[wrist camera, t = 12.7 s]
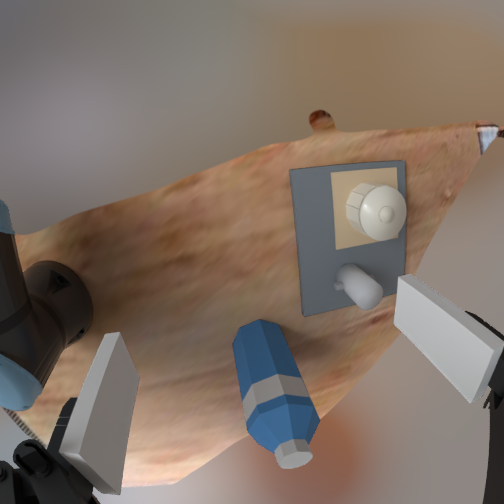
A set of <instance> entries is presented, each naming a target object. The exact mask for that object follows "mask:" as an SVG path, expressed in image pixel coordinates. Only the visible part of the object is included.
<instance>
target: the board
mask: <svg viewBox="0 0 504 504" xmlns="http://www.w3.org/2000/svg"><path fill="white" fill-rule="evenodd" d="M289 175H290V184H291V192H292V202H293V211H294V221H295V231H296V242H297V253H298V265H299V277H300V290H301V304H302V314H303V316H304V317H306V316H311V315H315V314H319V313H323V312H327V311H331V310H335V309H339V308H343V307H347V306H351V305H355V304H357V305H358V306H359V307H360V308H361V309H363V310H370V309H372V308H374V307H376V306H377V305H378V304H379V302H380V301H381V299H382V297H384V296H388V295H391V294H394V293H397V287H398V277H399V276H403V275H404V266H405V247H406V219H405V222H404V225H403V227H402V228H401V230H400V231H399V232H398V234H397V235H395V236H394V237H393V238H391V239H389V240H386V241H378V240H375V239H373V238H371V237H369V236H367V235H365V234H363V233H361V232H359V231H358V230H356V229H354V228H353V227H352V225H351V224H350V222H349V220H348V219H347V214H346V202H347V200H348V198H349V195H350V193H351V192H352V190H353V189H355V188H356V187H357V186H358V185H359V184H361V183H366V182H375V183H380V184H384V185H388V186H389V187H392V188H395V189H396V190H398V191H399V192H400V193H401V195H402V196H403V198H404V200H405V204H406V179H405V161H402V160H397V161H378V162H363V163H350V164H339V165H328V166H318V167H308V168H299V169H291V170H289Z"/></svg>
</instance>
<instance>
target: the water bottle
mask: <svg viewBox="0 0 504 504" xmlns="http://www.w3.org/2000/svg"><path fill="white" fill-rule="evenodd" d="M233 350H234V356H235V362H236V368H237V374H238V380H239V386H240V392H241V397H242V403H243V409H244V414H245V419H246V425H247V430H248V433H249V434H250V435H251V436H252V437H253V438H254V440H255V441H256V442H257V443H258V444H259V445H261V446H263V447H264V448H266V449H267V450H269V451H271V452H272V453H274V454H275V456H276V459H277V463H278V465H279V466H280V467H281V468H296V467H299V466H302V465H304V464H307V463H308V462H309V461H310V459H312V457H313V456H312V453H311V450H310V447H309V443H310V441H311V439H312V437H313V435H314V433H315V431H316V428H317V426H318V424H319V422H320V419H319V416H318V414H317V412H316V409H315V407H314V405H313V402H312V400H311V398H310V395H309V393H308V391H307V388H306V386H305V384H304V381H303V379H302V377H301V375H300V372H299V370H298V368H297V365H296V363H295V361H294V358H293V356H292V354H291V351H290V349H289V347H288V344H287V342H286V340H285V337H284V335H283V333H282V331H281V329H280V327H279V325H278V324H275V323H271V322H268V321H264V320H260V319H259V320H257V321H254V322H252V323H250V324H247V325H245V326H243V327H240V328H239V331H238V333H237V335H236V337H235V340H234V342H233Z"/></svg>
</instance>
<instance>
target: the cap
mask: <svg viewBox="0 0 504 504" xmlns="http://www.w3.org/2000/svg"><path fill="white" fill-rule="evenodd" d="M346 214H347V219H348V220H349V222H350V224H351V225H352V227H353V228H354V229H356V230H358V231H359V232H361V233H363V234H365V235H367V236H369V237H371V238H373V239H375V240H378V241H386V240H389V239H391V238H393V237H394V236H395V235H397V234H398V232H399V231H400V230H401V228H402V227H403V225H404V222H405V219H406V204H405V200H404V198H403V196H402V195H401V193H400V192H399V191H398V190H396V189H395V188H392V187H389V186H388V185H384V184H380V183H375V182H366V183H361V184H359V185H358V186H357V187H356V188H355V189H353V190H352V192H351V193H350V195H349V198H348V200H347V202H346Z"/></svg>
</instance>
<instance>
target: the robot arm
mask: <svg viewBox="0 0 504 504" xmlns="http://www.w3.org/2000/svg"><path fill="white" fill-rule="evenodd" d="M14 235H15V231H14V230H13V228H12V223H11V219H10V214H9V209H8V206H7V204H6V203H5V202H4V201H2V200H0V406H2V407H4V408H7V409H10V410H14V411H24V410H27V409H29V408H30V407H31V406H32V405H33V404H34V402H35V400H36V399H37V397H38V396H39V395H40V394H41V393H42V390H43V388H44V386H45V384H46V382H47V380H48V378H49V376H50V374H51V372H52V370H53V368H54V366H55V364H56V362H57V361H58V359H59V357H60V355H61V353H62V351H63V350H64V349H66V348H67V347H69V346H70V345H72V344H74V343H75V342H77V341H78V340H80V339H81V338H82V337H83V336H84V334H85V333H86V331H87V329H88V328H89V326H90V324H91V321H92V315H93V308H92V302H91V299H90V296H89V293H88V291H87V289H86V287H85V286H84V284H83V283H82V281H81V280H80V279H79V278H78V276H77V275H76V274H75V273H73V272H72V271H71V270H70V269H68V268H67V267H65V266H64V265H62V264H59V263H57V262H53V261H40V262H37V263H35V264H33V265H32V266H31V267H29V268H28V269H27V270H26V271H25V272H24V273H23V272H22V268H21V264H20V259H19V255H18V250H17V246H16V241H15V236H14ZM394 325H395V326H396V327H397V328H398V329H399V330H400V331H401V332H402V333H403V334H404V335H405V336H406V337H408V339H409V340H410V341H411V342H412V343H413V344H414V345H415V346H416V347H417V348H418V349H419V350H420V351H421V352H422V353H423V354H424V355H425V356H426V357H427V358H428V359H429V360H430V361H431V362H432V363H433V364H434V365H435V366H436V367H437V368H438V369H439V371H441V372H442V374H443V375H444V376H445V377H446V378H447V379H448V380H449V381H450V382H451V383H452V384H453V385H454V386H455V387H456V388H457V390H458V391H459V392H460V393H461V394H462V395H463V396H464V397H465V398H466V399H467V400H468V402H469V403H470V404H471V403H473V402H474V401H476V400H477V399H479V398H480V397H482V396H483V394H484V392H485V390H486V388H487V386H489V387H490V388H491V391H490V394H489V396H488V398H487V399H486V401H485V403H484V406H483V408H486V406H487V404H488V402H490V406H489V409H490V441H489V458H488V469H487V479H486V486H485V493H484V499H483V504H504V336H503V335H502V334H501V333H500V332H498V331H497V330H496V329H494V328H493V327H492V326H490V325H489V324H488V323H487V322H484V321H483V320H482V319H481V318H480V317H478V316H477V315H475V314H473V313H470V312H467V311H463V310H462V309H460V308H459V307H458V306H456V305H455V304H453V303H452V302H451V301H449V300H448V299H446V298H445V297H444V296H442V295H441V294H439V293H438V292H437V291H435V290H434V289H432V288H431V287H429V286H428V285H426V284H425V283H423V282H422V281H421V280H419V279H417V278H416V277H415V276H413V275H412V274H407V275H403V276H399V277H398V287H397V298H396V308H395V317H394ZM139 380H140V377H139V375H138V372H137V370H136V368H135V366H134V364H133V361H132V359H131V357H130V355H129V352H128V350H127V348H126V345H125V343H124V340H123V338H122V335H121V333H120V332H116V333H107V334H105V335H104V338H103V340H102V342H101V344H100V346H99V349H98V351H97V353H96V355H95V358H94V360H93V362H92V365H91V367H90V369H89V372H88V374H87V376H86V379H85V381H84V384H83V386H82V389H81V391H80V394H79V396H78V398H70V399H69V400H68V401H67V403H66V404H65V405H64V406H63V408H62V410H61V413H60V415H59V417H60V418H58V421H57V423H56V426H55V428H54V431H53V434H52V436H51V439H50V442H49V445H48V448H47V450H46V449H45V448H44V447H43V445H42V444H41V443H40V442H38V441H37V440H34V439H28V440H25V441H23V442H21V443H20V444H19V445H18V446H17V448H16V449H15V451H14V454H13V461H14V463H16V464H17V466H18V467H19V469H14V468H13V467H12V466H11V465H10V464H9V463H7V462H5V461H0V504H100V502H99V501H98V500H97V498H96V497H95V496H94V495H93V494H92V492H93V486H94V487H95V488H96V489H97V490H98V491H100V492H101V493H104V494H114V495H120V493H121V485H122V477H123V470H124V462H125V456H126V449H127V443H128V437H129V431H130V425H131V420H132V414H133V409H134V404H135V399H136V394H137V389H138V384H139Z"/></svg>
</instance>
